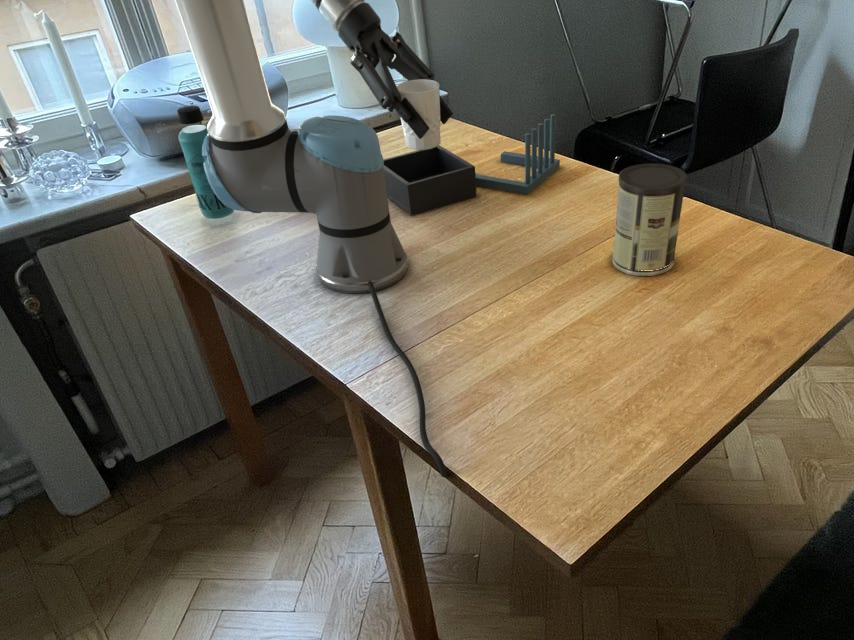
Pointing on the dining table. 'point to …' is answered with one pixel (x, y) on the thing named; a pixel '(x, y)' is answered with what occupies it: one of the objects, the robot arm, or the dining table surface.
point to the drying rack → (528, 162)
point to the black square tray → (428, 180)
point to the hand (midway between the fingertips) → (436, 126)
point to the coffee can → (648, 218)
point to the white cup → (422, 112)
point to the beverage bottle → (199, 162)
